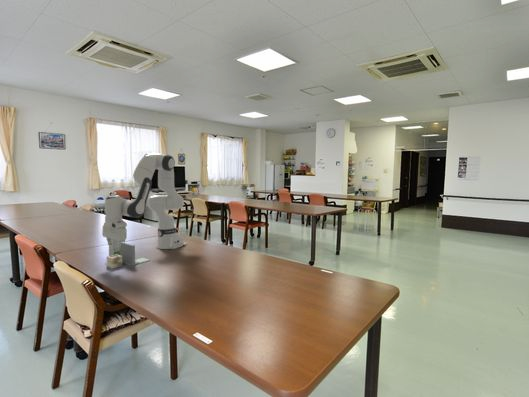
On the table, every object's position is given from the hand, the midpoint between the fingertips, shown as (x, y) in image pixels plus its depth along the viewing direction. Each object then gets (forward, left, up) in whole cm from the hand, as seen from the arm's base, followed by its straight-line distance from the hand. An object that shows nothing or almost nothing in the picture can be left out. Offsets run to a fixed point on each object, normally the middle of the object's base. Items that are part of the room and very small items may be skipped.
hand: (114, 246), depth 170 cm
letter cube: (0, -1, -12) cm, 12 cm away
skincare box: (-11, -18, -12) cm, 24 cm away
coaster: (-15, +3, -12) cm, 20 cm away
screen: (-8, -1, -12) cm, 15 cm away
